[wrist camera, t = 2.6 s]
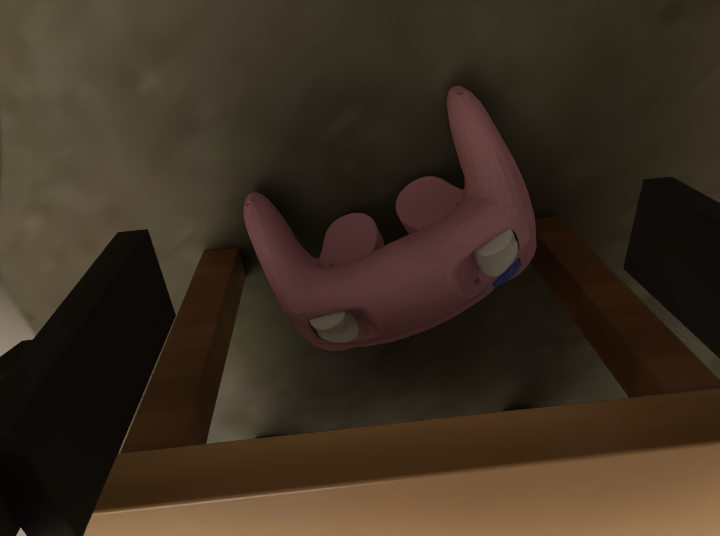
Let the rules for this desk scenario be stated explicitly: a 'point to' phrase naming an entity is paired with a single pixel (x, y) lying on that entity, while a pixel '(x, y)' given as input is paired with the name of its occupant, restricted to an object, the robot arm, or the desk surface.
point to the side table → (432, 439)
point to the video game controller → (406, 247)
